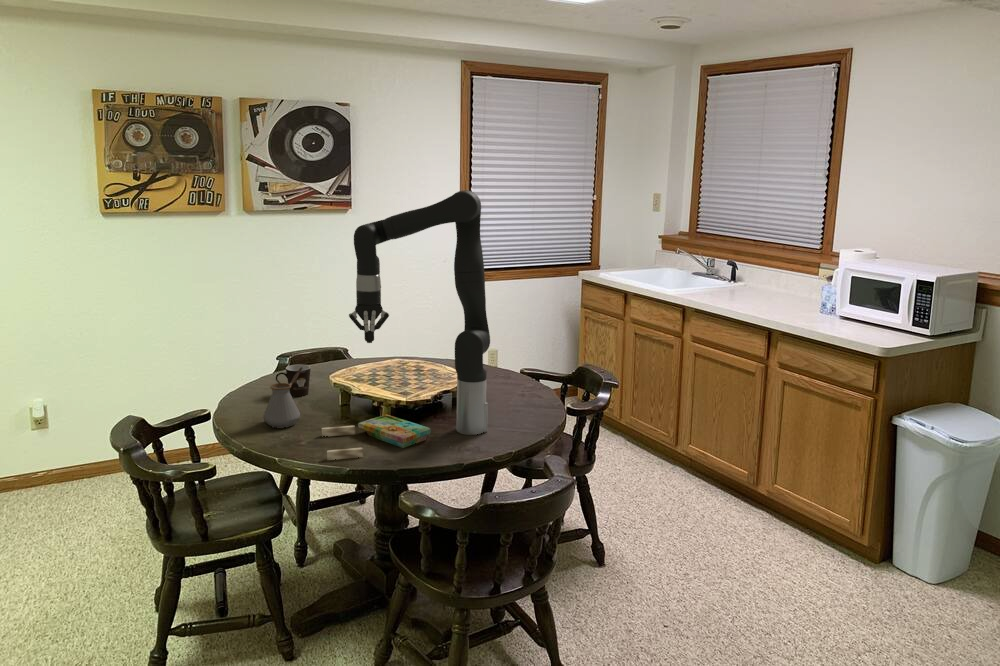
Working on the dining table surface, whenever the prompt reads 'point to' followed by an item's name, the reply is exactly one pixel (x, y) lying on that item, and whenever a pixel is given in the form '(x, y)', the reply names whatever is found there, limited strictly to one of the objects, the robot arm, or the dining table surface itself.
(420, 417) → the dining table surface
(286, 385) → the coffee pot
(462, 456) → the dining table surface
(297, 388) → the coffee mug
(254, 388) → the dining table surface
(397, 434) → the puzzle game
